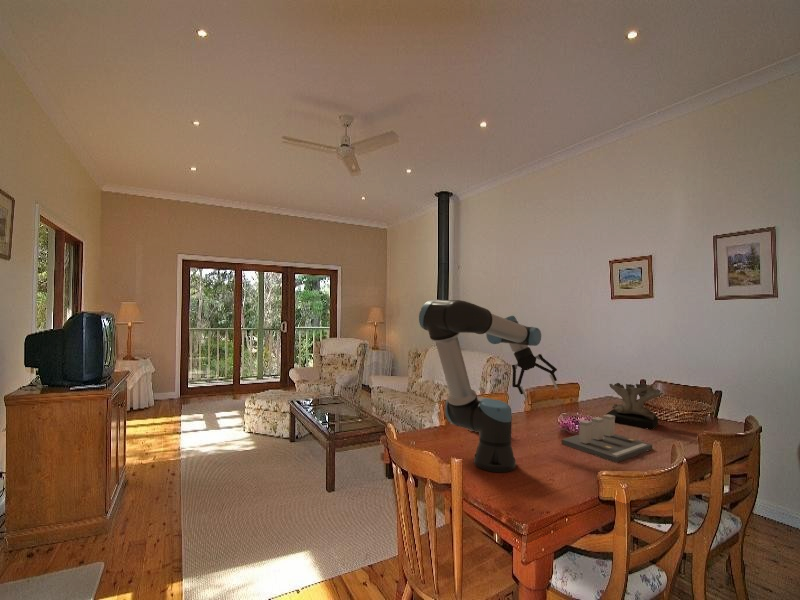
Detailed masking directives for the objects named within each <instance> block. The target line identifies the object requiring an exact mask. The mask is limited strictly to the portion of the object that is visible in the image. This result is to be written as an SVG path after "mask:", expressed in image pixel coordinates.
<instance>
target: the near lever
mask: <svg viewBox="0 0 800 600" xmlns="http://www.w3.org/2000/svg"><path fill="white" fill-rule="evenodd" d="M578 423H579V424H578V425H579V432H578V435H579V442H582V443H585V444H587V443H590V442H591V437H592V421H591V420H588V419H582V420H580V421H579V422H578Z"/></svg>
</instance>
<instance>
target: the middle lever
mask: <svg viewBox="0 0 800 600" xmlns="http://www.w3.org/2000/svg"><path fill="white" fill-rule="evenodd" d="M590 421H591V422H592V438H593V439H596V440H600V439H603V426H604V419H603V417H600V416H596V417H591V420H590Z"/></svg>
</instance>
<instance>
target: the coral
mask: <svg viewBox="0 0 800 600" xmlns="http://www.w3.org/2000/svg"><path fill="white" fill-rule="evenodd" d="M609 387H610V389H611V390H612V391H614V392H615V393H616V394H617V395H618V396H619V397H620V398H621V399H622V400H621V404H617V403H615V404H613V405H612V409H611V410H610V411H609V412H607V413H606V414H605V415H607V414H609V415H614V416H615V424H619V425H622V426H623V425H624V426H631V427H635V428H639V427H641V428H640V429H645V428H648V429H647V430H650V429H653V428H654V427H655V426H656V425H657V424H658V425H659V417H658V416H657V413H654V412H653V411H651V410H650V409H649V408H648V407H644V404H645V403H646V402H647V401H649V400H652V399H655V398H658V397H661V396H662V395H664V393H663V392H661V389H659V388H657V389H655V388H653V386H652V385H650V386H647V384H646V383H639V384H638V383H636V384H634V385H633V384H631V383H630V384H628V383H626V384H625V386H624V384H621V383H620V382H617V383H614V384H613V383H609ZM638 396H639V398H638ZM658 425H657V426H658ZM657 426H656V427H657ZM656 427H655V428H656ZM655 428H654V429H655ZM654 429H653V430H654Z"/></svg>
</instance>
